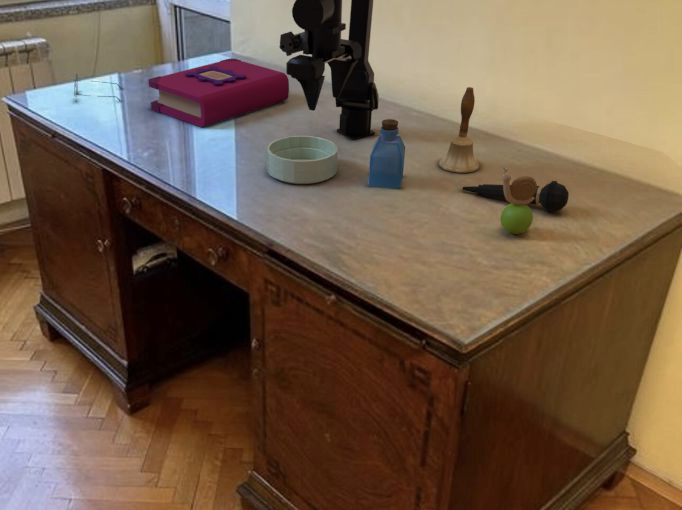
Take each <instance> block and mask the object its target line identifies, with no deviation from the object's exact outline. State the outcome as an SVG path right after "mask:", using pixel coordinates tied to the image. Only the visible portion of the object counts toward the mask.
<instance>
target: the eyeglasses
mask: <svg viewBox="0 0 682 510" xmlns="http://www.w3.org/2000/svg"><path fill="white" fill-rule="evenodd" d="M75 77H76V80H74V84H73V87H74V88H73V89H74V93H73V94H74V95H76V96H77V95H79V96H82V94H79V93H78V91H79V82H80V80H79V79H78V77H79V76H78V73H77V72H76V74H75ZM92 82H94V83H99V81H97V80H92ZM102 83H105V84H108V82H106V81H102ZM110 84H112V85H117V87H118V88H119V89H122V87H121V86H120V84H119V83H115V82H110ZM83 96H85V97H90V95H87V94H83ZM98 97H102V98H116V99H117V100H118V101H119V102H121V101H122V100H121V99H120V98H119V97H118V96H116V95H115V96H114V95H98Z"/></svg>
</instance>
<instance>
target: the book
mask: <svg viewBox="0 0 682 510" xmlns="http://www.w3.org/2000/svg"><path fill="white" fill-rule="evenodd" d="M147 82H148V88H151V89H155V90H158V99H157V100H154V101H151V102H150V109H151V111H153V112H156V113H159V114H160V113H161V114H163V115H166V116H169V117H172V118H175V119H178V120H179V121H183V122H186V123H188V124H192V125H194V126H197V127H200V128H203V127H207V126H210V125H213V124H217V123H219V122H223V121H227V120H230V119H233V118H236V117H238V116H242V115H245V114H247V113H251V112H254V111H258V110H261V109H264V108H266V107H270V106H273V105H276V104H279V103H282V102H285V101H286V100H288V98H289V95H290V81H289V77H288V75H287V74H286V73H285V72H283V71H278V70H276V69H272V68H268V67H265V66H261V65H259V64H255V63H250V62H247V61H243V60H241V59H237V58H225V59H221V60H219V61H215V62H212V63H208V64H204V65H201V66H200V65H199V66H196V67H192V68H189V69H186V70H181V71H177V72H174V73H173V72H172V73H169V74H165V75H161V76H160V75H159V76H156V77H151V78H149V79H147Z"/></svg>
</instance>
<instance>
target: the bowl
mask: <svg viewBox="0 0 682 510" xmlns="http://www.w3.org/2000/svg"><path fill="white" fill-rule="evenodd" d="M338 151H339V147H338V146H337V145H336V143H335V142H333V141H331V140H329V139H327V138H324V137H319V136H313V135H290V136H289V135H288V136H285V137H280V138H277V139H275V140H272V141H271V142H270V143H268V144H267V145H266V171H267V173H268V175H269V176H271V177H272V178H274V179H275V180H278V181H281V182H283V183H287V184H293V185H310V184H317V183H321V182H324V181H327V180H329V179H331V178H333V177H334V176H335V175H336V174H337V173H338V156H339V155H338Z"/></svg>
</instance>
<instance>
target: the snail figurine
mask: <svg viewBox="0 0 682 510" xmlns="http://www.w3.org/2000/svg"><path fill="white" fill-rule="evenodd" d="M502 169H503V172H504V173H503V175H502V178H501V179H502V185H503V190H504V195H505V198H506V200H505V201H507V202H508V204H507V205H506V206H505V207H504V208H503V209H502V210H501V214H500V224H501V226H502V228H503V229H504V230H505V231H506V232H507V233H510V234H515V235H517V234H518V235H519V234H523V233H524V232H526V231H527V230H529V228H530V227H531V226H532V224H533V220H534V214H533V211H532V209H531V208H530V206H529V205H530V204H529V203H530V202H532V201H533V200H534V197H532V196H533V195H534V194H535V193H536V190H537V186H538V184H537V181H536V179H535V178H534V177H532V176H530V175H522V176H521V175H520V176H519V177H517V178H516V179H514V180H513V181H512V183H511V179H512V176H511V174H510V173H507V172H508V170H509V169H508V168H507V167H506V166H504V167H503V168H502ZM510 185H511V186H510Z"/></svg>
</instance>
